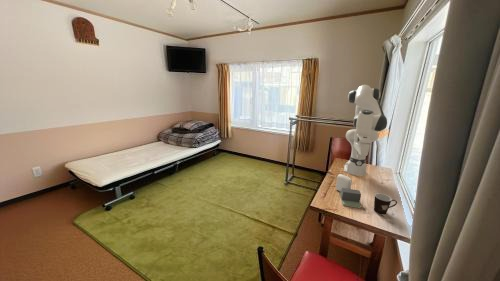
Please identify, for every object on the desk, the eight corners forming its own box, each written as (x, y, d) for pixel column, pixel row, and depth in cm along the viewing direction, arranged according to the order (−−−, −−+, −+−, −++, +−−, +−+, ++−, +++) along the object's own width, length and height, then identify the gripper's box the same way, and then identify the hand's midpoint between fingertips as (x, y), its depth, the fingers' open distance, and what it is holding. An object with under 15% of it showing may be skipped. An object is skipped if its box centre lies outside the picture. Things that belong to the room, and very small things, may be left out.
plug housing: (340, 195, 134) (341, 187, 132) (357, 198, 131) (359, 190, 129) (341, 199, 129) (343, 191, 128) (359, 202, 126) (361, 194, 125)
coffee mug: (371, 212, 118) (374, 198, 116) (372, 205, 125) (375, 191, 123) (394, 220, 112) (398, 204, 109) (394, 212, 119) (398, 197, 116)
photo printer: (334, 189, 145) (336, 173, 142) (338, 187, 147) (340, 172, 144) (347, 195, 136) (349, 179, 133) (350, 194, 139) (353, 178, 135)
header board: (339, 194, 138) (340, 188, 137) (355, 196, 136) (356, 190, 134) (343, 205, 125) (344, 198, 124) (360, 208, 123) (361, 201, 121)
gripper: (352, 132, 132) (349, 152, 136) (360, 140, 113) (356, 163, 117) (363, 133, 131) (359, 153, 135) (372, 141, 112) (368, 164, 116)
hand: (358, 157), depth 126 cm, fingers closed
